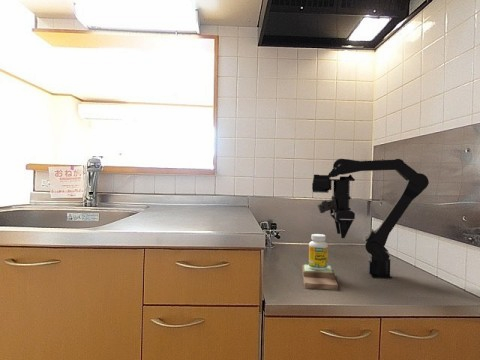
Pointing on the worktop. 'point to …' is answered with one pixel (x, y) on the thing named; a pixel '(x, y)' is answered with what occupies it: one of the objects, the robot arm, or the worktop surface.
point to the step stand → (319, 278)
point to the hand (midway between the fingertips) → (340, 235)
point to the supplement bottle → (318, 252)
